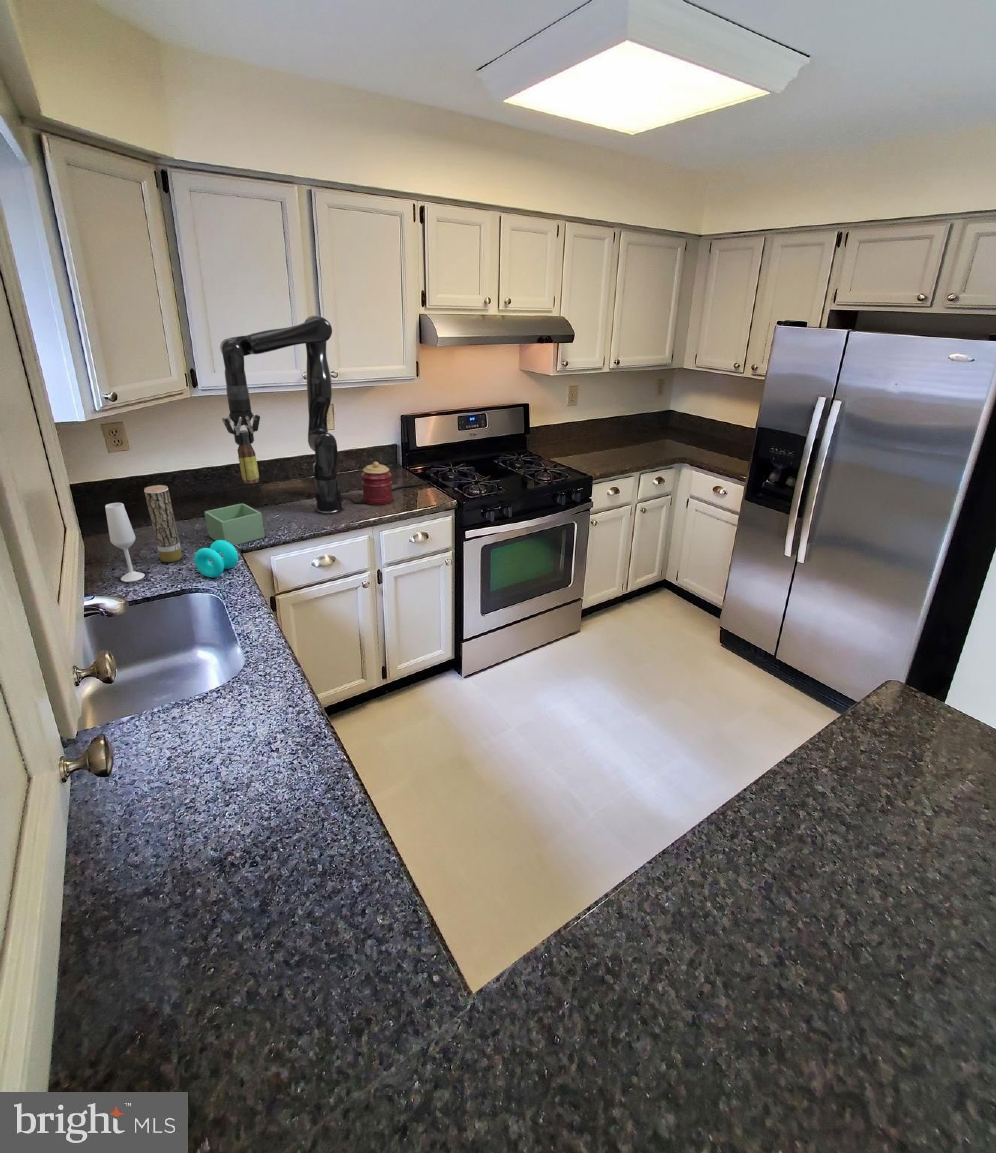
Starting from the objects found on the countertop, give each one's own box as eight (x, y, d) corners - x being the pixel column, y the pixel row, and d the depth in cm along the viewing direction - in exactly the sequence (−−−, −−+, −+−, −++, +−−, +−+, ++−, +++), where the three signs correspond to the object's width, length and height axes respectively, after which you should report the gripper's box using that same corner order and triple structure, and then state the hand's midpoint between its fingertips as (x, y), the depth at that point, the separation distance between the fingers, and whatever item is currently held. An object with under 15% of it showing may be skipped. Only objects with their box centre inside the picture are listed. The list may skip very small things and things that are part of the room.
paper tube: (160, 564, 198) (143, 492, 187) (160, 556, 204) (144, 486, 193) (183, 561, 201) (168, 490, 190) (182, 553, 207) (167, 484, 196)
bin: (246, 526, 231) (243, 503, 227) (264, 537, 223) (261, 513, 218) (208, 535, 222) (204, 511, 218) (226, 547, 213) (221, 522, 209)
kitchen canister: (356, 501, 263) (353, 461, 255) (377, 494, 273) (375, 456, 265) (377, 507, 256) (375, 467, 249) (398, 500, 266) (397, 461, 258)
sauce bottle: (262, 480, 235) (256, 430, 227) (255, 485, 229) (248, 433, 221) (246, 479, 236) (240, 428, 227) (238, 483, 230) (231, 432, 222)
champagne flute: (119, 575, 190) (100, 504, 180) (143, 570, 194) (125, 500, 183) (122, 583, 185) (102, 510, 175) (146, 578, 189) (128, 506, 179)
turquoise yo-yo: (195, 576, 192) (189, 548, 187) (216, 564, 200) (211, 536, 196) (222, 581, 189) (216, 552, 185) (242, 568, 198) (237, 540, 194)
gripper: (223, 400, 211) (230, 448, 219) (261, 397, 221) (267, 443, 228) (214, 397, 216) (222, 444, 223) (252, 394, 225) (258, 439, 233)
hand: (245, 443), depth 226 cm, fingers closed on sauce bottle, 4 cm apart
